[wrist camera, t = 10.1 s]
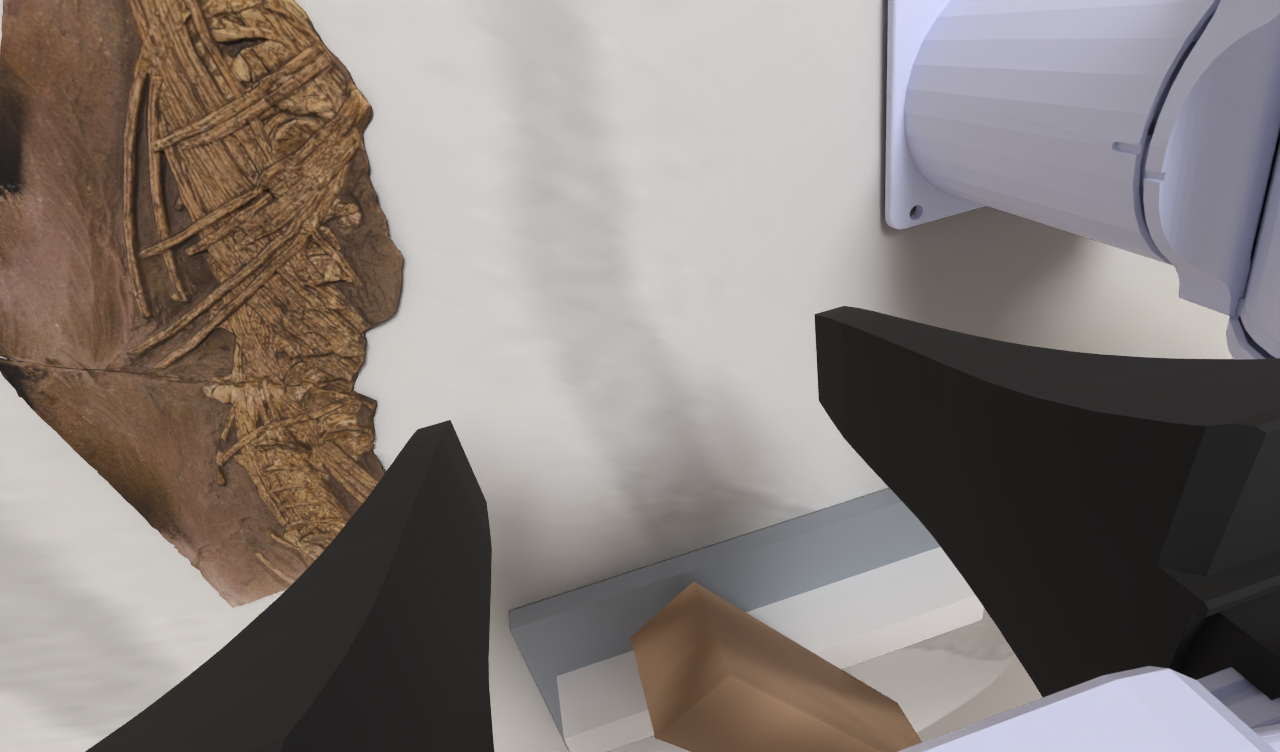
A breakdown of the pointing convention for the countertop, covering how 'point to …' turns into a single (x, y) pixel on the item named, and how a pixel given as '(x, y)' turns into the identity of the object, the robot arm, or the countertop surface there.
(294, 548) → the fossil skeleton slab
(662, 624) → the walnut batten
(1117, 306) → the countertop surface
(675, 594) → the balance stand
